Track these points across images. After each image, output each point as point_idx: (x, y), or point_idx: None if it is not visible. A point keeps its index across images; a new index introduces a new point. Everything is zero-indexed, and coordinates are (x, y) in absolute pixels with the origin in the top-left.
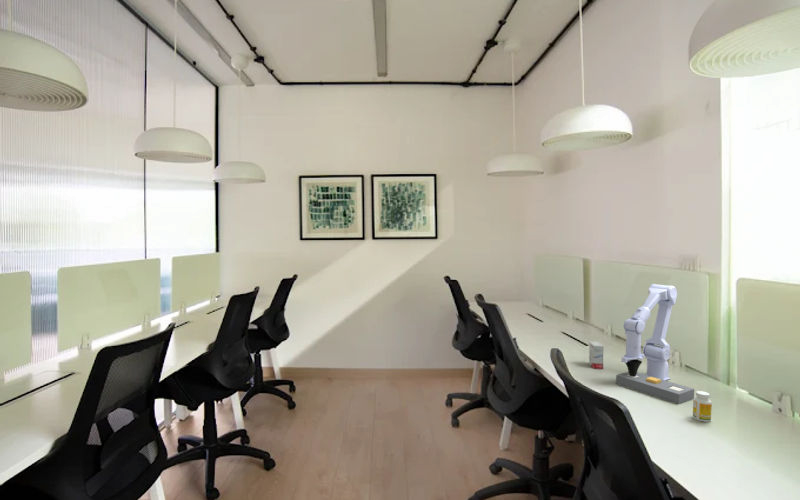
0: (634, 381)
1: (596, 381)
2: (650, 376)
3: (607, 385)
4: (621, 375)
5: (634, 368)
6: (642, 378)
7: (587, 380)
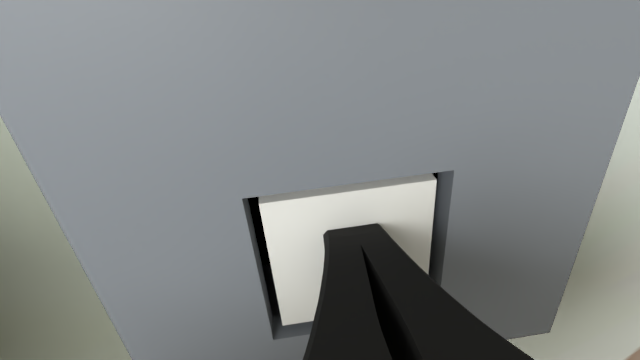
0: (631, 52)
1: (564, 328)
2: (23, 102)
3: (605, 239)
4: (515, 303)
5: (520, 351)
6: (361, 79)
7: (594, 356)
